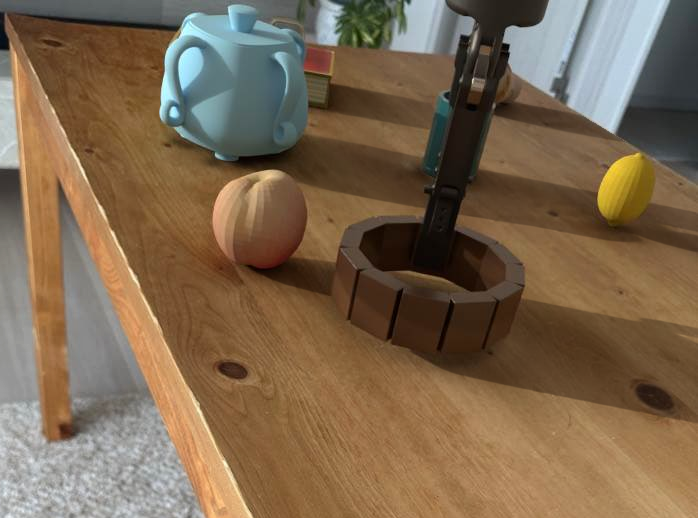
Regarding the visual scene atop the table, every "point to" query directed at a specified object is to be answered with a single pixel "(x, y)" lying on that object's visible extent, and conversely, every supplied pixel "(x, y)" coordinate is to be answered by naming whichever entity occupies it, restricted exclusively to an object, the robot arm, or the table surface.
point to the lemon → (626, 189)
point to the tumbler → (439, 133)
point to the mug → (508, 87)
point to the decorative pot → (236, 84)
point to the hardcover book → (311, 73)
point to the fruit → (260, 219)
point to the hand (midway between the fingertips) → (429, 260)
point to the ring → (421, 303)
